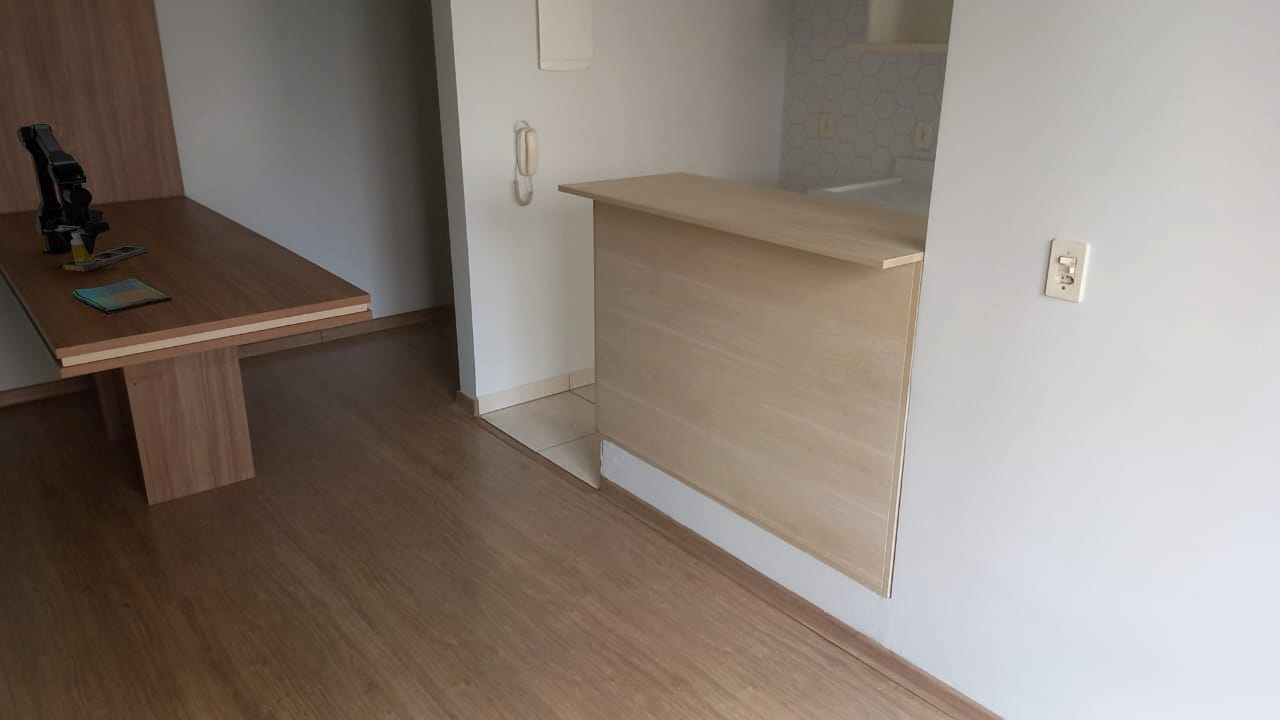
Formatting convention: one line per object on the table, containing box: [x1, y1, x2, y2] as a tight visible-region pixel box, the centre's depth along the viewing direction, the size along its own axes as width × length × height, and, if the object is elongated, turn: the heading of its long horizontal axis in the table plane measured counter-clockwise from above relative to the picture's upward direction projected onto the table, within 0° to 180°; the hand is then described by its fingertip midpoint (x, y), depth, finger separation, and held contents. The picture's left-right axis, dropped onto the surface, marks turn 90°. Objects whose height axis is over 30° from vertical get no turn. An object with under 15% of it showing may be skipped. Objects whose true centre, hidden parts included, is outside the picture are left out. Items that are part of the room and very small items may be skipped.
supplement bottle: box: [71, 230, 95, 265], centre depth 272 cm, size 5×5×10 cm
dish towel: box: [72, 278, 173, 314], centre depth 245 cm, size 17×23×2 cm
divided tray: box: [61, 245, 149, 273], centre depth 281 cm, size 9×24×2 cm, turn 164°
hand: (83, 253), depth 273 cm, fingers closed on supplement bottle, 5 cm apart
